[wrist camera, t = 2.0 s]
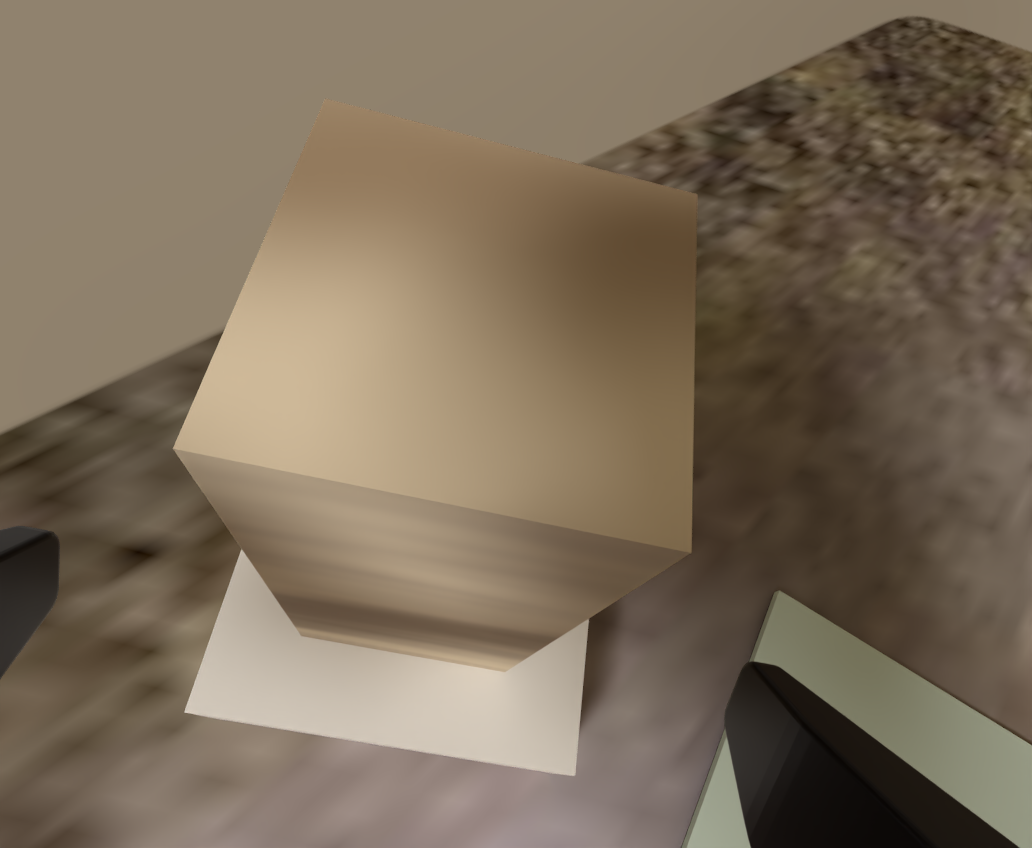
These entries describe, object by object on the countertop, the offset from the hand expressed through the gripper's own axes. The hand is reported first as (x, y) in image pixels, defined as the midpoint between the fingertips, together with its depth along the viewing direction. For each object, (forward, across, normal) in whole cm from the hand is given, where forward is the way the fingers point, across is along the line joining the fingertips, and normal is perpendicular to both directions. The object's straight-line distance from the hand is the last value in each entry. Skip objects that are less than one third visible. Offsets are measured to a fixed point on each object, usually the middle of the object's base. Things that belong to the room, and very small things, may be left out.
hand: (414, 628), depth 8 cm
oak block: (+8, 0, +4) cm, 9 cm away
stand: (+10, 0, +6) cm, 11 cm away
